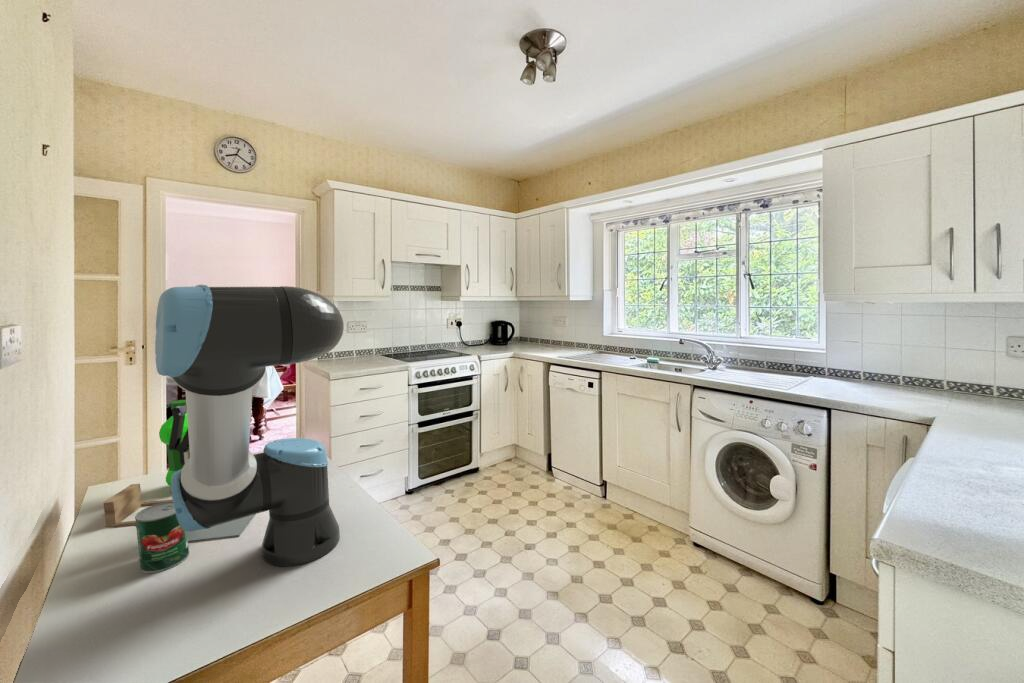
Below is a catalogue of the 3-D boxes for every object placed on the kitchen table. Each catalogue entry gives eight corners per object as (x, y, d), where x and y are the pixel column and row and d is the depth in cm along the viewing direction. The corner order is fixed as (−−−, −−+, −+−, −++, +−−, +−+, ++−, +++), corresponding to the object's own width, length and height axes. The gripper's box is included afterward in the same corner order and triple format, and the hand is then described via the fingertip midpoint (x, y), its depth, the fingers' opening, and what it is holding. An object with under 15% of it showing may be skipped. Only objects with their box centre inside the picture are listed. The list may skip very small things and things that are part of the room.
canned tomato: (154, 577, 83) (149, 523, 82) (131, 567, 86) (125, 515, 85) (198, 554, 90) (193, 504, 89) (175, 546, 93) (170, 498, 92)
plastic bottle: (210, 475, 129) (203, 395, 126) (209, 488, 121) (200, 402, 118) (168, 484, 124) (159, 400, 121) (163, 498, 115) (154, 408, 112)
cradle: (188, 519, 104) (186, 495, 104) (104, 528, 100) (101, 504, 100) (210, 497, 115) (208, 476, 115) (135, 505, 112) (132, 483, 111)
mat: (239, 536, 96) (239, 534, 96) (168, 544, 94) (168, 543, 93) (261, 506, 110) (261, 505, 110) (199, 513, 107) (199, 511, 107)
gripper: (263, 376, 104) (269, 464, 107) (161, 380, 99) (170, 473, 102) (251, 382, 97) (258, 477, 99) (141, 387, 92) (151, 486, 95)
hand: (214, 475), depth 101 cm, fingers closed on canister, 9 cm apart
